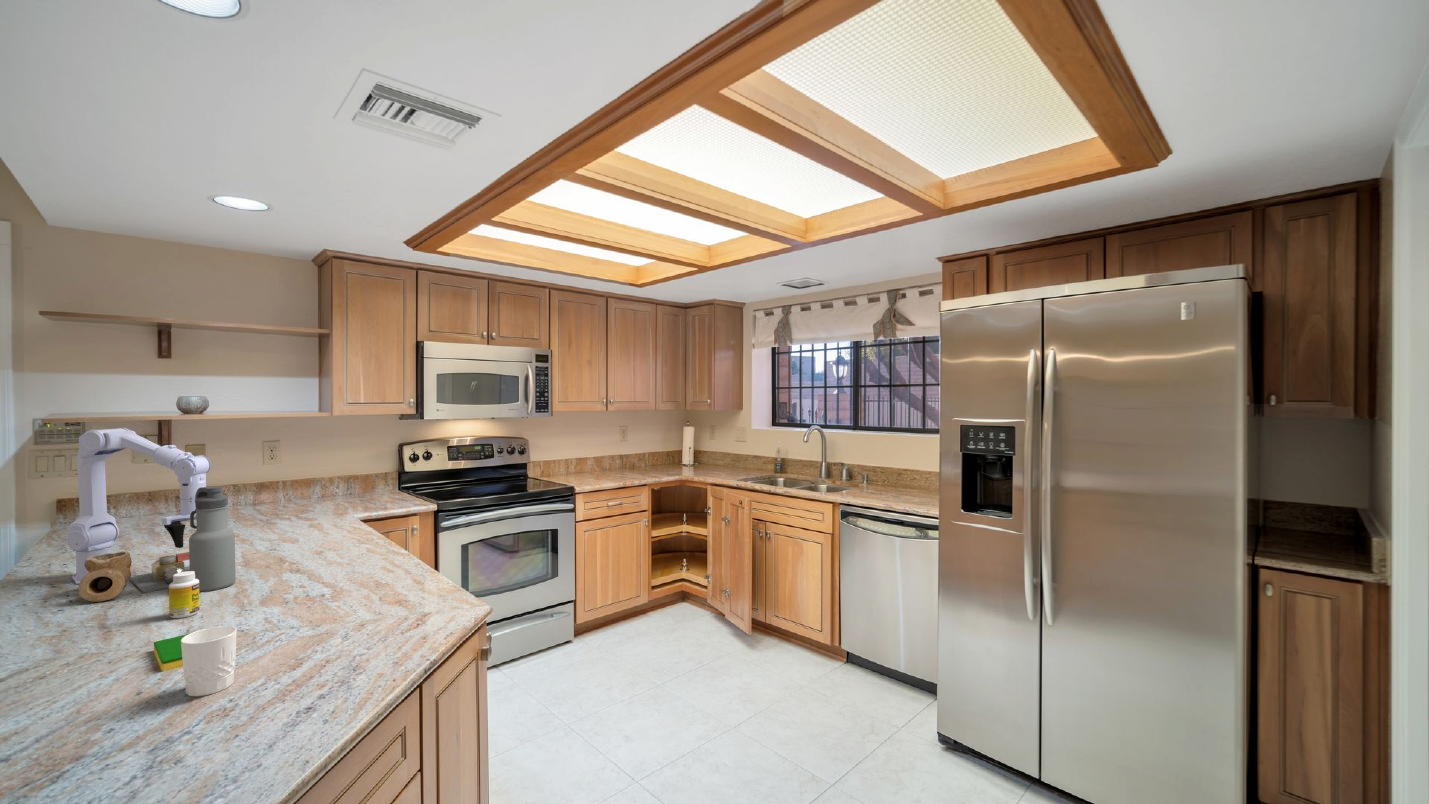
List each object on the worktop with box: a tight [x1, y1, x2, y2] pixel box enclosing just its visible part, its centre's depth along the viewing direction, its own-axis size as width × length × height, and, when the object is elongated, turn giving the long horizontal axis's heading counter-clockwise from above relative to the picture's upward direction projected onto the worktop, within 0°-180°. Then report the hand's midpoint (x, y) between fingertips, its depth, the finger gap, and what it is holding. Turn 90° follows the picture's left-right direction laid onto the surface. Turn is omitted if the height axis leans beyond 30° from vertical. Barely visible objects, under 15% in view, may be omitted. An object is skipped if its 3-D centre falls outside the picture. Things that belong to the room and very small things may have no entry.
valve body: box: [151, 559, 185, 585], centre depth 172 cm, size 16×6×5 cm, turn 53°
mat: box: [129, 565, 190, 594], centre depth 173 cm, size 20×17×1 cm
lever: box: [158, 551, 189, 564], centre depth 175 cm, size 12×4×2 cm, turn 143°
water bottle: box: [188, 485, 237, 593], centre depth 165 cm, size 10×10×28 cm
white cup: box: [181, 625, 238, 697], centre depth 110 cm, size 8×8×10 cm
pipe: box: [78, 551, 133, 602], centre depth 159 cm, size 9×16×10 cm, turn 39°
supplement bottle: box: [168, 571, 201, 619], centre depth 145 cm, size 6×6×10 cm
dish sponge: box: [153, 633, 189, 672], centre depth 123 cm, size 7×14×2 cm, turn 48°
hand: (194, 544), depth 173 cm, fingers open, 7 cm apart
